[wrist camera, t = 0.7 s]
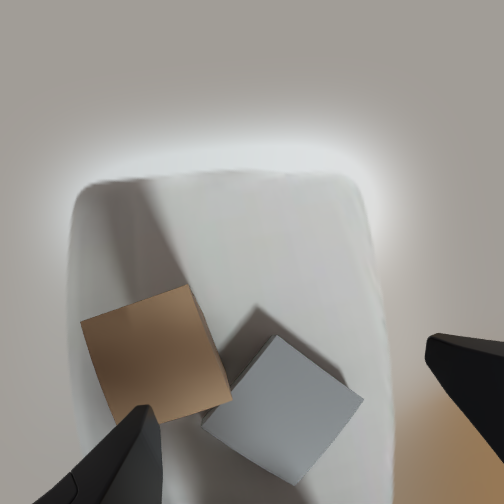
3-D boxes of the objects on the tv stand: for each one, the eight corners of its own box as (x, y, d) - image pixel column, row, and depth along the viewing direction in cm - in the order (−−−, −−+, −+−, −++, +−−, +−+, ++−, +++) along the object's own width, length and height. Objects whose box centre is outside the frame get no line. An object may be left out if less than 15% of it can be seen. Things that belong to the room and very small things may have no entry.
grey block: (287, 474, 21) (294, 486, 19) (202, 419, 22) (200, 426, 20) (351, 395, 24) (364, 399, 22) (271, 335, 25) (277, 334, 22)
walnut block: (225, 371, 24) (232, 400, 11) (168, 390, 23) (120, 434, 10) (203, 313, 25) (187, 284, 12) (146, 333, 24) (80, 321, 11)
